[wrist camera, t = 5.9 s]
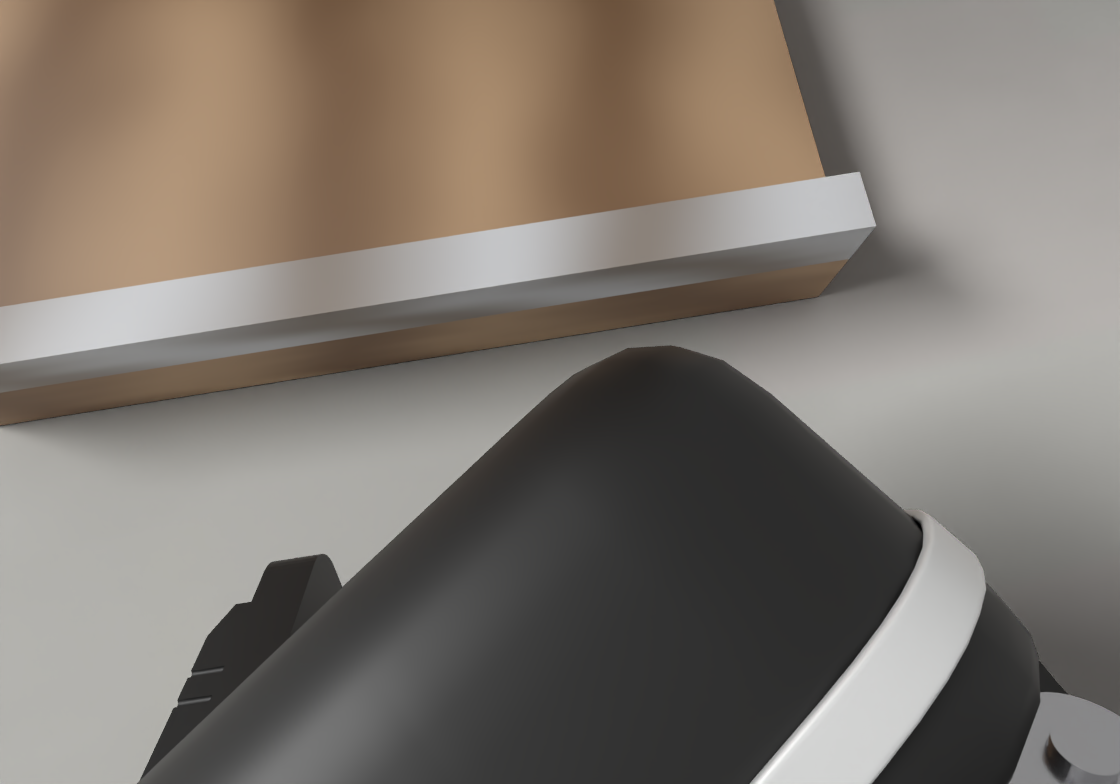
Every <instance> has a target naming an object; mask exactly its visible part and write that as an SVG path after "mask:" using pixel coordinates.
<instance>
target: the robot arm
mask: <svg viewBox="0 0 1120 784" xmlns="http://www.w3.org/2000/svg"><path fill="white" fill-rule="evenodd" d="M341 588H342V585H341V583H340V580H339V578H338V575H337V573H336V571H335V568H334V566H333V563H332V561H331V560H330V558H329V557H328V556H327V555H325V554H320V555H313V556H307V557H300V558H294V559H287V560H281V561H274V562H271V563H270V564H269V565H268V566H267V567H266V569H265V571H264V573H263V576H262V578H261V581H260V583H259V585H258V588H257V590H256V592H255V595H254V597H253V600H252V602H248V603H241V604H236V605H235V606H234V607H233V608H232V609H231V610H230V611H229V613H228V614H227V615H226V616H225V617H224V618H223V619H222V620H221V621H220V623H219V624H218V625H217V626H216V627H215V628H214V629H213V630H212V632H211V633H210V634H209V635H208V636H207V638H206V640H205V642H204V645H203V647H202V649H201V651H200V653H199V655H198V657H197V659H196V662H195V664H194V666H193V668H192V670H191V672H192V676H191V677H190V678H188V679H187V681H186V683H185V685H184V687H183V689H182V691H181V694H180V696H179V698H178V706H177V707H176V708H173V711H172V713H171V715H170V717H169V719H168V721H167V723H166V726H165V728H164V730H163V732H162V734H161V736H160V738H159V740H158V743H157V745H156V747H155V749H154V751H153V753H152V755H151V758H150V760H149V762H148V764H147V766H146V768H145V770H144V772H143V775H142V777H141V779H142V778H143V777H144V776H145V775H146V774H147V773H148V772H149V771H150V770H151V769H152V768H153V767H154V766H155V765H156V764H157V763H158V762H159V761H161V760H162V759H163V758H164V757H165V756H166V755H167V754H168V753H169V752H170V751H171V750H172V749H173V748H174V747H175V746H176V745H177V744H178V743H179V742H180V741H182V740H183V739H184V738H185V737H186V736H187V735H188V734H189V733H190V732H191V731H192V730H193V729H194V728H195V727H196V726H197V725H198V724H199V723H200V722H201V721H202V720H204V719H205V718H206V717H207V716H208V715H209V714H210V713H211V712H212V711H213V710H214V709H215V708H216V707H217V706H218V705H219V704H220V703H221V702H222V701H223V700H225V699H226V698H227V697H228V696H229V695H230V694H231V693H232V692H233V691H234V690H235V689H236V688H237V687H238V686H239V685H240V684H241V683H242V682H243V681H244V680H245V679H247V678H248V677H249V676H250V675H251V674H252V673H253V672H254V671H255V670H256V669H257V668H258V667H259V666H260V665H261V664H262V663H263V662H264V661H265V660H266V659H268V658H269V657H270V656H271V655H272V654H273V653H274V652H275V651H276V650H277V649H278V648H279V647H280V646H281V645H282V644H283V643H284V642H285V641H286V640H287V639H288V638H290V637H291V636H292V635H293V634H294V633H295V632H296V631H297V630H298V629H299V628H300V627H301V626H302V625H303V624H304V623H305V622H306V621H307V620H308V619H309V618H311V617H312V616H313V615H314V614H315V613H316V612H317V611H318V610H319V609H320V608H321V607H322V606H323V605H324V604H325V603H326V602H327V601H328V600H329V599H330V598H332V597H333V596H334V595H335V594H336V593H337V592H338V591H339V590H340V589H341ZM1039 679H1040V705H1039V708H1038V710H1037V713H1036V716H1035V719H1034V721H1033V724H1032V727H1031V729H1030V732H1029V735H1028V737H1027V740H1026V743H1025V745H1024V748H1023V751H1022V754H1021V756H1020V759H1019V762H1018V764H1017V767H1016V770H1015V772H1014V775H1013V777H1012V779H1011V781H1010V782H1009V784H1120V716H1118V715H1117V714H1115V713H1113V712H1112V711H1110V710H1108V709H1106V708H1104V707H1102V706H1100V705H1098V704H1095V703H1093V702H1091V701H1088V700H1085V699H1082V698H1079V697H1076V696H1072V695H1068V694H1067V693H1066V692H1065V691H1064V690H1063V688H1062V687H1061V686H1060V685H1059V684H1058V683H1057V682H1056V681H1055V679H1054V678H1053V677H1052V676H1051V675H1050V673H1049V672H1048V671H1047V670H1046V668H1045V667H1044V666H1043V665H1042V664H1041V662H1040V661H1039ZM141 779H140V780H141Z"/></svg>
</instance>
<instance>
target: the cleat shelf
mask: <svg viewBox="0 0 1120 784" xmlns="http://www.w3.org/2000/svg"><path fill="white" fill-rule="evenodd" d="M875 227H876V223H875V220H874V217H873V213H872V210H871V207H870V204H869V201H868V197H867V194H866V191H865V188H864V184H863V181H862V178H861V175H860V172H854V173H848V174H842V175H835V176H829V177H825V174H824V171H823V167H822V164H821V161H820V157H819V154H818V150H817V147H816V143H815V140H814V137H813V133H812V130H811V126H810V123H809V120H808V116H807V113H806V109H805V106H804V102H803V99H802V96H801V92H800V89H799V85H798V82H797V79H796V75H795V72H794V68H793V65H792V61H791V58H790V55H789V51H788V48H787V44H786V41H785V37H784V34H783V31H782V27H781V24H780V20H779V17H778V14H777V10H776V7H775V3H774V0H0V426H1V425H7V424H13V423H20V422H26V421H32V420H39V419H45V418H51V417H58V416H64V415H71V414H77V413H83V412H90V411H96V410H102V409H109V408H115V407H121V406H128V405H134V404H140V403H147V402H153V401H159V400H166V399H172V398H178V397H185V396H191V395H197V394H204V393H210V392H216V391H223V390H229V389H236V388H242V387H248V386H255V385H261V384H267V383H274V382H280V381H286V380H293V379H299V378H305V377H312V376H318V375H324V374H331V373H337V372H343V371H350V370H356V369H362V368H369V367H375V366H381V365H388V364H394V363H401V362H407V361H413V360H420V359H426V358H432V357H439V356H445V355H451V354H458V353H464V352H470V351H477V350H483V349H489V348H496V347H502V346H508V345H515V344H521V343H527V342H534V341H540V340H546V339H553V338H559V337H566V336H572V335H578V334H585V333H591V332H597V331H604V330H610V329H616V328H623V327H629V326H635V325H642V324H648V323H654V322H661V321H667V320H673V319H680V318H686V317H692V316H699V315H705V314H711V313H718V312H724V311H731V310H737V309H743V308H750V307H756V306H762V305H769V304H775V303H781V302H788V301H794V300H800V299H807V298H813V297H819V295H820V294H821V293H822V292H823V290H824V289H825V288H826V287H827V286H828V284H829V283H830V282H831V281H832V279H833V278H834V277H835V276H836V275H837V273H838V272H839V271H840V270H841V269H842V267H843V266H844V265H845V264H846V262H847V261H848V260H849V259H850V258H851V256H852V255H853V254H854V253H855V251H856V250H857V249H858V248H859V247H860V245H861V244H862V243H863V242H864V240H865V239H866V238H867V237H868V236H869V234H870V233H871V232H872V231H873V229H874V228H875Z"/></svg>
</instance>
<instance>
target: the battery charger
mask: <svg viewBox="0 0 1120 784" xmlns="http://www.w3.org/2000/svg"><path fill="white" fill-rule="evenodd" d="M1039 705H1040V679H1039V657H1038V653H1037V651H1036V648H1035V645H1034V643H1033V640H1032V637H1031V635H1030V633H1029V632H1028V631H1027V629H1026V628H1025V627H1024V626H1023V624H1022V623H1021V622H1020V621H1019V620H1018V618H1017V617H1016V616H1015V615H1014V613H1013V612H1012V611H1011V610H1010V609H1009V607H1008V606H1007V605H1006V604H1005V603H1004V602H1003V601H1002V599H1001V598H1000V597H999V596H998V595H997V594H996V593H995V592H994V590H993V589H992V588H991V587H990V586H989V585H988V584H987V583H986V582H985V576H984V570H983V568H982V566H981V564H980V562H979V560H978V558H977V556H976V555H975V554H974V553H973V552H972V551H971V550H970V549H968V548H967V547H966V546H965V545H964V544H963V543H961V542H960V541H959V540H958V539H957V538H956V537H955V536H953V535H952V534H951V533H950V532H949V531H948V530H947V529H945V528H944V527H943V526H942V525H941V524H940V523H938V522H937V521H936V520H935V519H934V518H933V517H932V516H930V515H928V514H927V513H925V512H924V511H922V510H915V509H905V510H903V509H902V508H900V507H899V506H898V505H897V504H896V503H895V502H894V501H893V500H891V499H890V498H889V497H888V496H887V495H886V494H885V493H883V492H882V491H881V490H880V489H879V488H878V487H877V486H875V485H874V484H873V483H872V482H871V481H870V480H869V479H867V478H866V477H865V476H864V475H863V474H862V473H861V472H860V471H858V470H857V469H856V468H855V467H854V466H853V465H852V464H850V463H849V462H848V461H847V460H846V459H845V458H844V457H842V456H841V455H840V454H839V453H838V452H837V451H836V450H834V449H833V448H832V447H831V446H830V445H829V444H828V443H826V442H825V441H824V440H823V439H822V438H821V437H820V436H819V435H817V434H816V433H815V432H814V431H813V430H812V429H811V428H809V427H808V426H807V425H806V424H805V423H804V422H803V421H801V420H800V419H799V418H798V417H797V416H796V415H795V414H793V413H792V412H791V411H790V410H789V409H788V408H787V407H785V406H784V405H783V404H782V403H781V402H780V401H779V400H778V399H776V398H775V397H774V396H773V395H772V394H770V393H769V392H768V391H766V390H765V389H763V388H762V387H760V386H759V385H758V384H756V383H755V382H753V381H752V380H750V379H749V378H748V377H746V376H745V375H743V374H742V373H740V372H739V371H738V370H736V369H735V368H733V367H732V366H730V365H729V364H728V363H726V362H725V361H723V360H720V359H717V358H713V357H710V356H707V355H704V354H700V353H697V352H694V351H690V350H687V349H684V348H681V347H676V346H655V347H640V348H627V349H625V350H623V351H621V352H619V353H617V354H615V355H612V356H610V357H608V358H606V359H604V360H602V361H600V362H598V363H596V364H593V365H591V366H589V367H587V368H585V369H584V370H582V371H580V372H578V373H576V374H574V375H573V376H571V377H570V378H569V379H568V380H566V381H565V382H564V383H563V384H561V385H560V386H559V387H558V388H556V389H555V390H554V391H553V392H551V393H550V394H549V395H548V396H547V397H546V398H545V399H544V400H542V401H541V402H540V403H539V404H538V405H537V406H536V407H535V408H534V409H532V410H531V411H530V412H529V413H528V414H527V415H526V416H525V417H524V418H523V419H521V420H520V421H519V422H518V423H517V424H516V425H515V426H514V427H513V428H512V429H511V430H510V431H509V432H508V433H506V434H505V435H504V436H503V437H502V438H501V439H500V440H499V441H498V442H497V443H496V444H495V445H494V446H493V447H492V448H490V449H489V450H488V451H487V452H486V453H485V454H484V455H483V456H482V457H481V458H480V459H479V460H478V461H477V462H475V463H474V464H473V465H472V466H471V467H470V468H469V469H468V470H467V471H466V472H465V473H464V474H463V475H462V476H461V477H459V478H458V479H457V480H456V481H455V482H454V483H453V484H452V485H451V486H450V487H449V488H448V489H447V490H446V491H444V492H443V493H442V494H441V495H440V496H439V497H438V498H437V499H436V500H435V501H434V502H433V503H432V504H431V505H430V506H428V507H427V508H426V509H425V510H424V511H423V512H422V513H421V514H420V515H419V516H418V517H417V518H416V519H415V520H414V521H412V522H411V523H410V524H409V525H408V526H407V527H406V528H405V529H404V530H403V531H402V532H401V533H400V534H399V535H397V536H396V537H395V538H394V539H393V540H392V541H391V542H390V543H389V544H388V545H387V546H386V547H385V548H384V549H383V550H381V551H380V552H379V553H378V554H377V555H376V556H375V557H374V558H373V559H372V560H371V561H370V562H369V563H368V564H366V565H365V566H364V567H363V568H362V569H361V570H360V571H359V572H358V573H357V574H356V575H355V576H354V577H353V578H352V579H350V580H349V581H348V582H347V583H346V584H345V585H344V586H343V587H342V588H341V589H340V590H339V591H338V592H337V593H336V594H335V595H334V596H333V597H332V598H330V599H329V600H328V601H327V602H326V603H325V604H324V605H323V606H322V607H321V608H320V609H319V610H318V611H317V612H316V613H315V614H314V615H313V616H312V617H311V618H309V619H308V620H307V621H306V622H305V623H304V624H303V625H302V626H301V627H300V628H299V629H298V630H297V631H296V632H295V633H294V634H293V635H292V636H291V637H290V638H288V639H287V640H286V641H285V642H284V643H283V644H282V645H281V646H280V647H279V648H278V649H277V650H276V651H275V652H274V653H273V654H272V655H271V656H270V657H269V658H268V659H266V660H265V661H264V662H263V663H262V664H261V665H260V666H259V667H258V668H257V669H256V670H255V671H254V672H253V673H252V674H251V675H250V676H249V677H248V678H247V679H245V680H244V681H243V682H242V683H241V684H240V685H239V686H238V687H237V688H236V689H235V690H234V691H233V692H232V693H231V694H230V695H229V696H228V697H227V698H226V699H225V700H223V701H222V702H221V703H220V704H219V705H218V706H217V707H216V708H215V709H214V710H213V711H212V712H211V713H210V714H209V715H208V716H207V717H206V718H205V719H204V720H202V721H201V722H200V723H199V724H198V725H197V726H196V727H195V728H194V729H193V730H192V731H191V732H190V733H189V734H188V735H187V736H186V737H185V738H184V739H183V740H182V741H180V742H179V743H178V744H177V745H176V746H175V747H174V748H173V749H172V750H171V751H170V752H169V753H168V754H167V755H166V756H165V757H164V758H163V759H162V760H161V761H159V762H158V763H157V764H156V765H155V766H154V767H153V768H152V769H151V770H150V771H149V772H148V773H147V774H146V775H145V776H144V777H143V778H142V779H141V780H140V781H139V782H138V783H137V784H1009V782H1010V781H1011V779H1012V777H1013V775H1014V772H1015V770H1016V767H1017V764H1018V762H1019V759H1020V756H1021V754H1022V751H1023V748H1024V745H1025V743H1026V740H1027V737H1028V735H1029V732H1030V729H1031V727H1032V724H1033V721H1034V719H1035V716H1036V713H1037V710H1038V708H1039Z"/></svg>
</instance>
